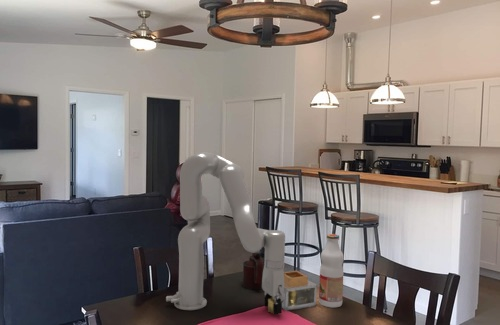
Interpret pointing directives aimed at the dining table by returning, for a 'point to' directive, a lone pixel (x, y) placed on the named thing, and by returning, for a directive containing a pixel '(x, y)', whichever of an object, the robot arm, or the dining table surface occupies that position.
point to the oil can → (253, 272)
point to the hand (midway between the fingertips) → (272, 309)
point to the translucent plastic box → (299, 291)
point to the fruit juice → (331, 274)
